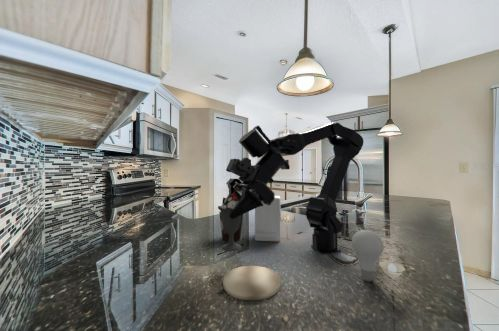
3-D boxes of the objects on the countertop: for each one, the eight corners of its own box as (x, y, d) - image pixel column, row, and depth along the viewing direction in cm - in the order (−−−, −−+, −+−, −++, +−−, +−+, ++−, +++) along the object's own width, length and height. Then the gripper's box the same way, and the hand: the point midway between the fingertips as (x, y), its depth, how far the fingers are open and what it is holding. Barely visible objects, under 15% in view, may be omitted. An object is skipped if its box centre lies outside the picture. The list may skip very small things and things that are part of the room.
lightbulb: (384, 291, 43) (383, 235, 43) (350, 283, 46) (349, 231, 46) (384, 278, 48) (383, 229, 48) (354, 272, 51) (353, 225, 52)
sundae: (244, 252, 50) (244, 188, 50) (215, 252, 50) (215, 188, 50) (245, 243, 57) (245, 186, 57) (220, 243, 57) (219, 186, 57)
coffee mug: (242, 243, 72) (242, 213, 73) (217, 243, 72) (217, 213, 73) (244, 233, 84) (244, 207, 84) (222, 233, 84) (222, 207, 84)
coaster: (269, 268, 53) (268, 263, 53) (289, 295, 42) (289, 289, 42) (220, 274, 50) (220, 268, 50) (227, 304, 39) (227, 297, 39)
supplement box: (280, 242, 73) (280, 198, 74) (254, 241, 75) (254, 197, 75) (281, 234, 82) (280, 195, 83) (257, 233, 84) (257, 194, 84)
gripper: (232, 151, 64) (195, 190, 59) (262, 143, 47) (213, 197, 42) (256, 177, 67) (223, 216, 62) (292, 178, 50) (249, 232, 45)
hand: (226, 215), depth 53 cm, fingers closed on sundae, 6 cm apart
